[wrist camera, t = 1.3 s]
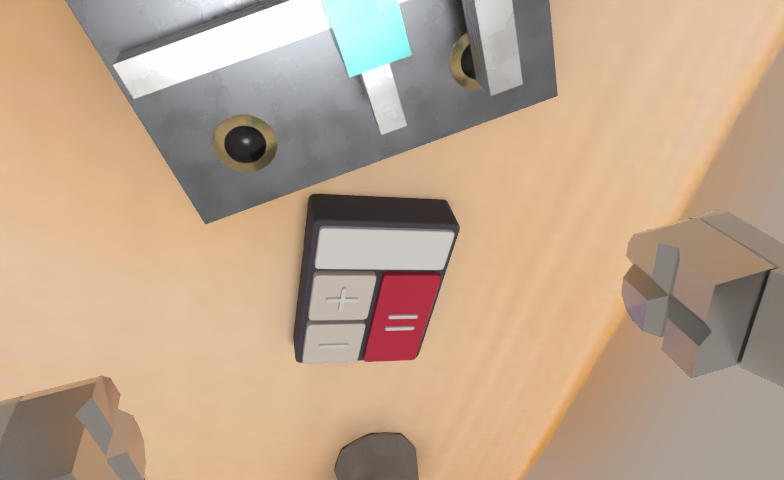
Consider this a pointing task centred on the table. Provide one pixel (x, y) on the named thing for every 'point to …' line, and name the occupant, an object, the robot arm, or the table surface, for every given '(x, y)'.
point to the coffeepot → (378, 459)
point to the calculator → (370, 276)
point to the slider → (371, 51)
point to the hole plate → (306, 85)
